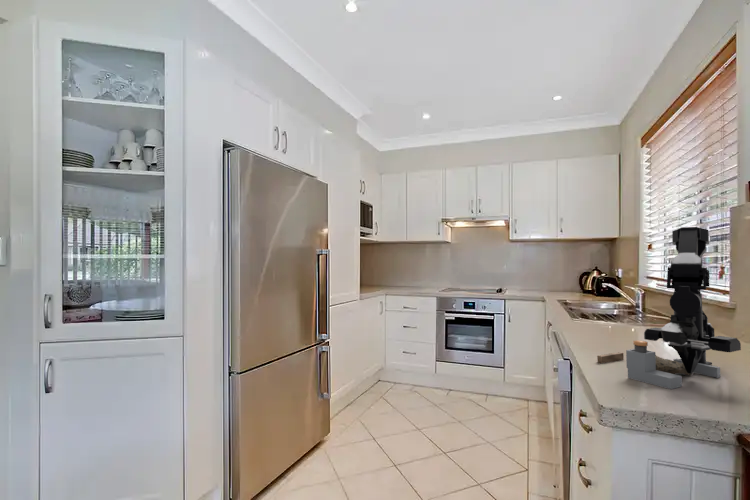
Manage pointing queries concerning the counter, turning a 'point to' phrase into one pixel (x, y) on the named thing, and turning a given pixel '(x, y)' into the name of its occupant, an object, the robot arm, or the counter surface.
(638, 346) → the plunger
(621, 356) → the bar
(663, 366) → the rock
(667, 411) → the counter surface
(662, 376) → the bay
